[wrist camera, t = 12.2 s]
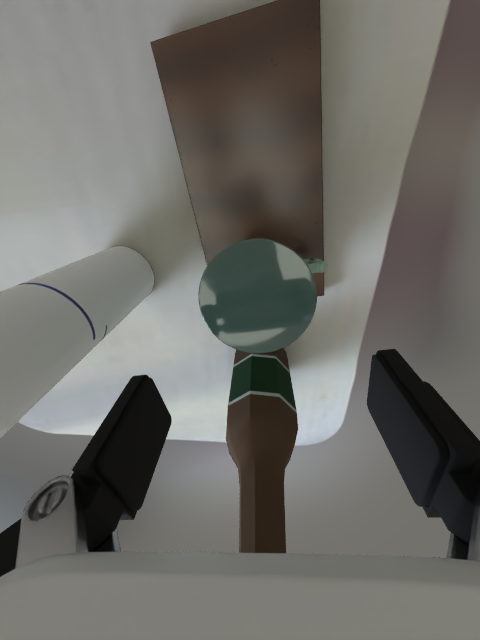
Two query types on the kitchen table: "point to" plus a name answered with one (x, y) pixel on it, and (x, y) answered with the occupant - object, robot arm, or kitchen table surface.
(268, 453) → the beer bottle
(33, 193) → the kitchen table surface
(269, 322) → the jug
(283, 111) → the serving board
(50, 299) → the cylindrical container
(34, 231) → the kitchen table surface
